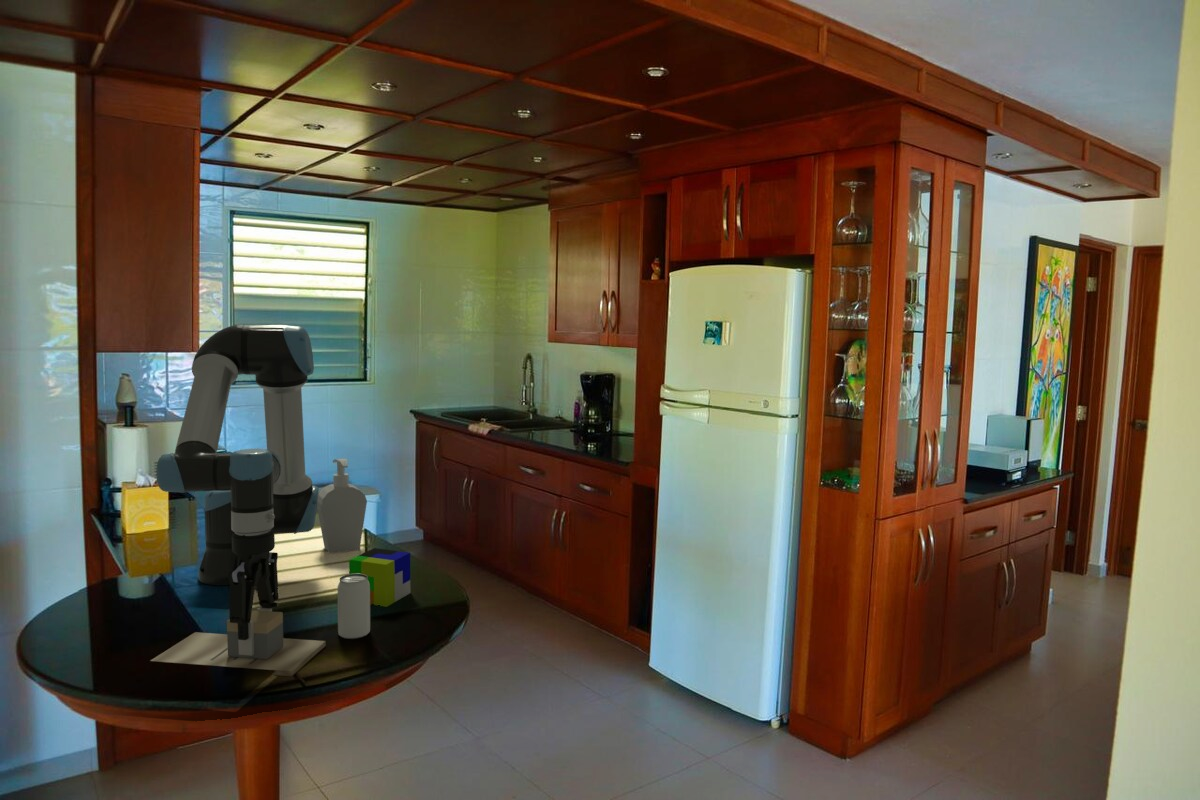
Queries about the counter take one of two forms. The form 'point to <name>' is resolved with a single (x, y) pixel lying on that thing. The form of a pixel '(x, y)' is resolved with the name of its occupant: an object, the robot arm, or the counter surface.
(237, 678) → the counter surface
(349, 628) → the can
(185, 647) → the board
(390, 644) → the counter surface
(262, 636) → the block
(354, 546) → the soap bottle
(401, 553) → the puzzle toy
